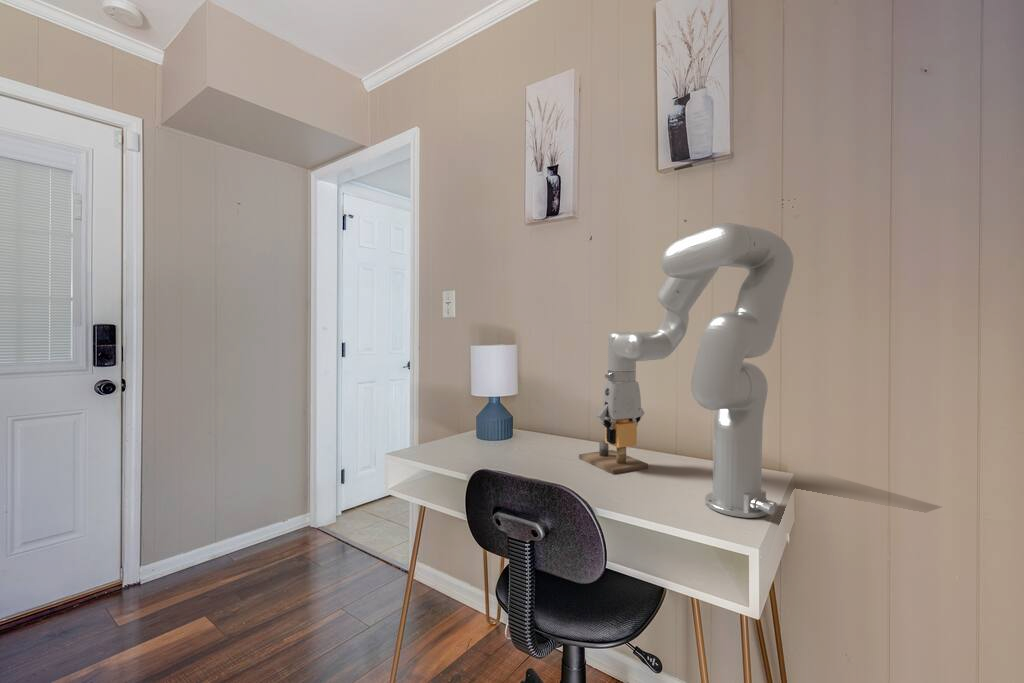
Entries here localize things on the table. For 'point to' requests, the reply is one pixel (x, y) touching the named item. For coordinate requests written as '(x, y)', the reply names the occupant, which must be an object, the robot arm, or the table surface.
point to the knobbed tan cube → (624, 433)
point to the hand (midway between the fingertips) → (620, 441)
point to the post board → (613, 459)
